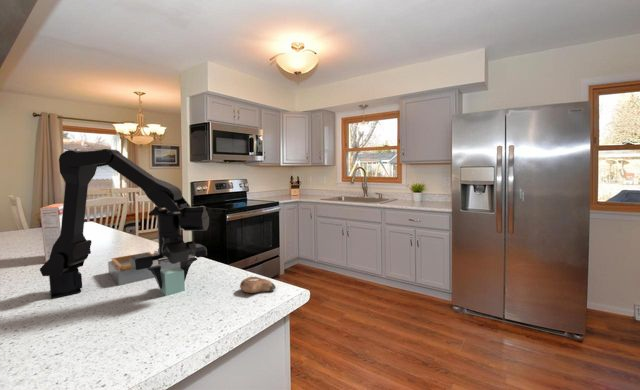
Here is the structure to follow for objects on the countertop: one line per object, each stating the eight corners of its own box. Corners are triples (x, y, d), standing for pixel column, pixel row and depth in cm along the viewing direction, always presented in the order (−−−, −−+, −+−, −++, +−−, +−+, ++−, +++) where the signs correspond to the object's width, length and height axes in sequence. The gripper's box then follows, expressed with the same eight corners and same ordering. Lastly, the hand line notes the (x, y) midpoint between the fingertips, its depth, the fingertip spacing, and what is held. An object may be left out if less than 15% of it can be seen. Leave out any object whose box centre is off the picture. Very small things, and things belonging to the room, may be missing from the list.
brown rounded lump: (256, 303, 82) (278, 293, 88) (257, 288, 81) (279, 280, 88) (234, 291, 87) (256, 282, 94) (235, 277, 87) (257, 270, 93)
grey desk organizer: (118, 285, 92) (117, 268, 92) (108, 273, 103) (107, 258, 103) (181, 271, 105) (180, 256, 104) (166, 261, 116) (165, 248, 115)
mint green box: (166, 296, 85) (164, 274, 84) (157, 288, 90) (156, 268, 89) (184, 291, 88) (183, 270, 88) (175, 284, 93) (174, 264, 93)
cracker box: (56, 254, 127) (52, 203, 125) (74, 252, 130) (71, 202, 128) (43, 263, 114) (38, 207, 113) (64, 261, 117) (59, 206, 115)
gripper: (139, 241, 74) (143, 304, 76) (214, 230, 87) (216, 284, 89) (128, 234, 82) (131, 291, 84) (198, 225, 95) (200, 274, 97)
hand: (172, 285), depth 88 cm, fingers open, 6 cm apart
